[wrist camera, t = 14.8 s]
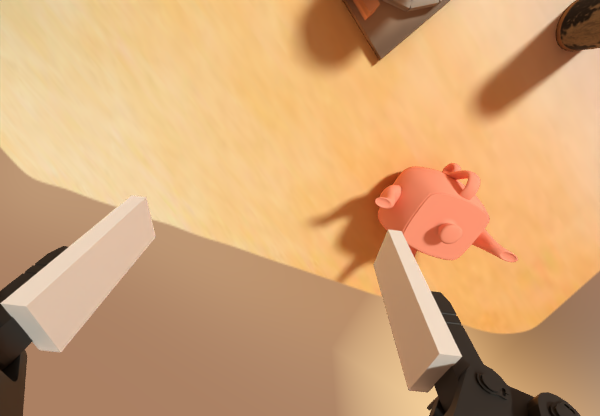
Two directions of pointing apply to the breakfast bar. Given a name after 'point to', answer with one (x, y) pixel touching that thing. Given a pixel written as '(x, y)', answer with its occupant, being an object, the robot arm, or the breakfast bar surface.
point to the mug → (580, 26)
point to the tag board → (390, 20)
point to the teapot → (438, 213)
